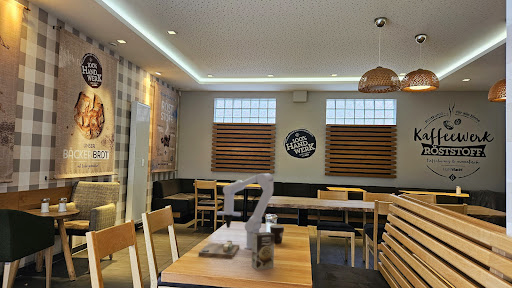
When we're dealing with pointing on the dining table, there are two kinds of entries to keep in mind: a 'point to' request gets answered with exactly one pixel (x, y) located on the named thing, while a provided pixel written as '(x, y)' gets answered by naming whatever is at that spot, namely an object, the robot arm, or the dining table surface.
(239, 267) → the dining table surface
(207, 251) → the wooden serving board
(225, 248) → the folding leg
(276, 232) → the coffee mug
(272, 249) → the coffee box
